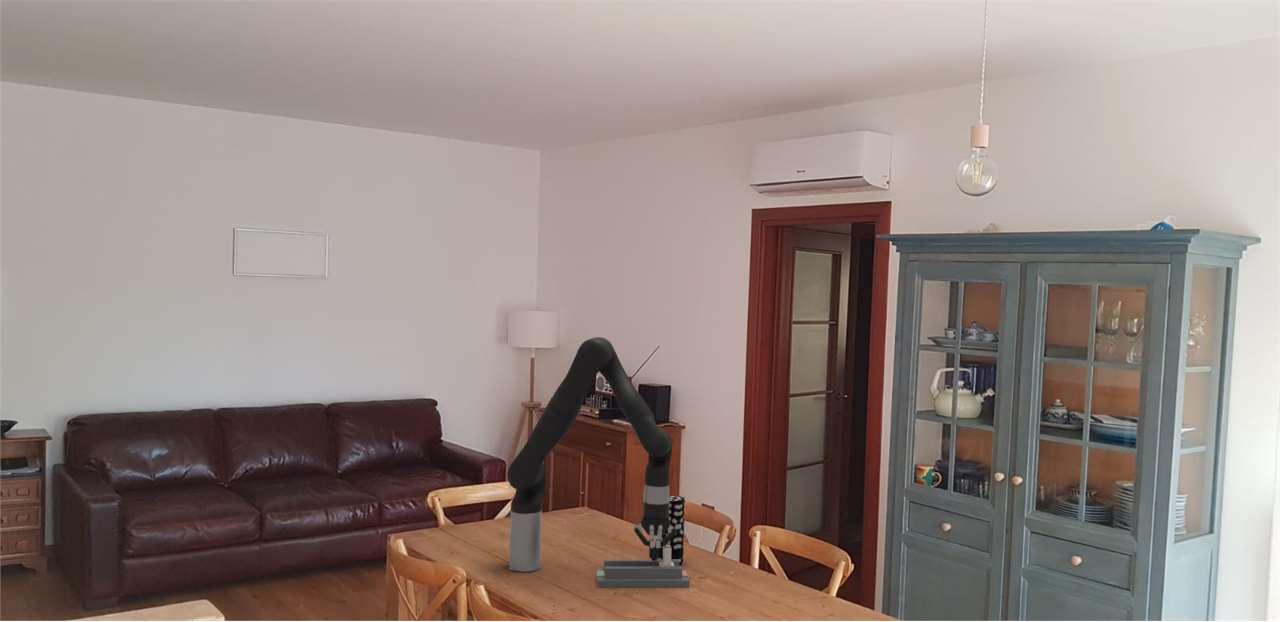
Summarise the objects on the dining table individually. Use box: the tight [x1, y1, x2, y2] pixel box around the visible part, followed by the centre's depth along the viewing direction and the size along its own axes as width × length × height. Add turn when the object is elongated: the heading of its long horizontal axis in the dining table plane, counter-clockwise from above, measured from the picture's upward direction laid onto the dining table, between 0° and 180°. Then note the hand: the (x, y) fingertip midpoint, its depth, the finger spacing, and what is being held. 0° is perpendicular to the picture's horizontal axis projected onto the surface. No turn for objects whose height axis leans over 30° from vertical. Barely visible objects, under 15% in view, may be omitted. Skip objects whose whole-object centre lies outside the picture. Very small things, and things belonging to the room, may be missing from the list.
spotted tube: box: [659, 494, 686, 566], centre depth 291 cm, size 8×8×20 cm
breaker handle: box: [659, 545, 674, 566], centre depth 273 cm, size 4×4×8 cm
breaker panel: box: [595, 558, 691, 589], centre depth 273 cm, size 26×12×5 cm, turn 94°
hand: (654, 560), depth 273 cm, fingers closed
